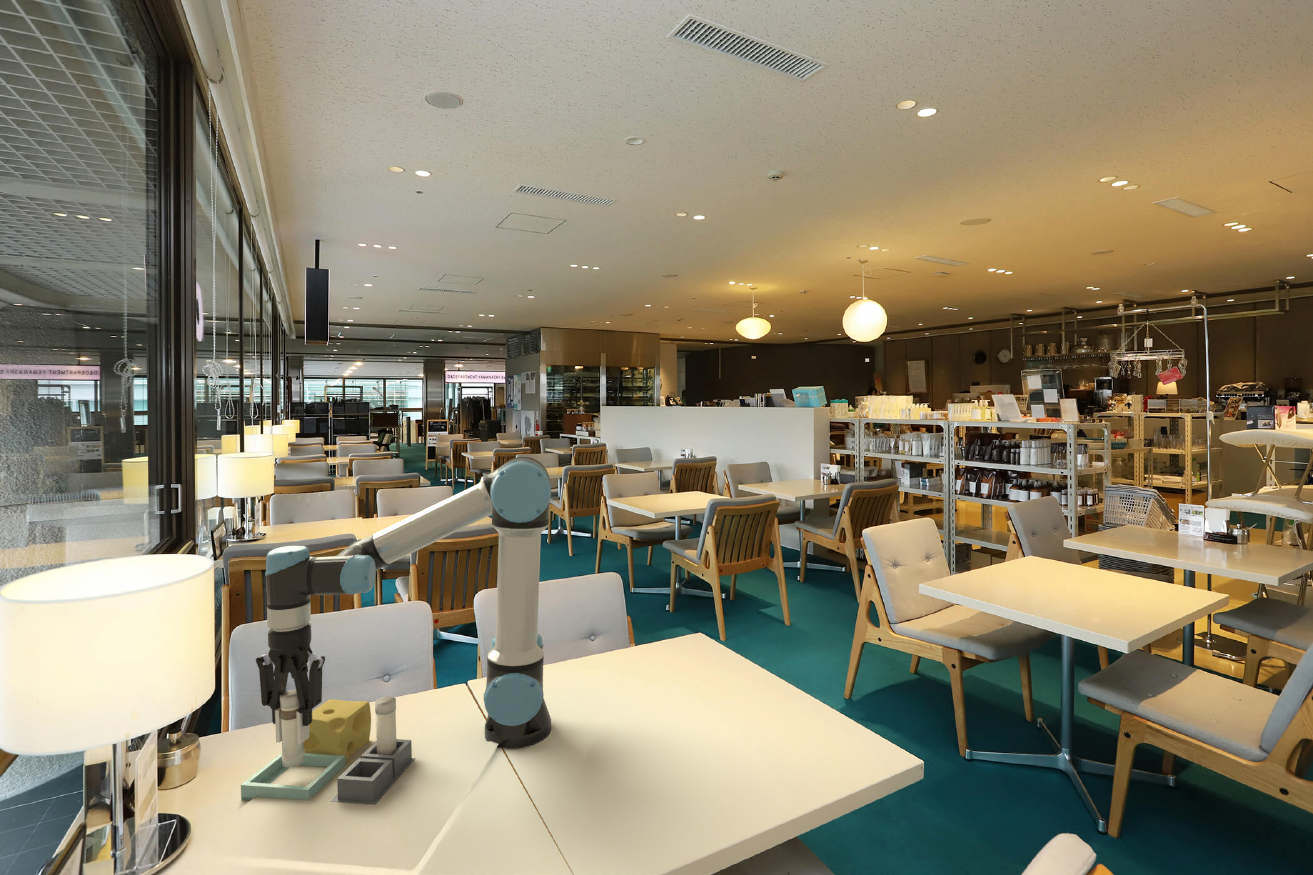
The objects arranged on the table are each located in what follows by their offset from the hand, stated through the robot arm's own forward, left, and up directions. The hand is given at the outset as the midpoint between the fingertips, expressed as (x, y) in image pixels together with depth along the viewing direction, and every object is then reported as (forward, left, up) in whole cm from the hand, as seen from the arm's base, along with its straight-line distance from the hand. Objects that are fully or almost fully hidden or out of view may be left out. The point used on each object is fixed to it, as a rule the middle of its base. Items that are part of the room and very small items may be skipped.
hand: (292, 739), depth 131 cm
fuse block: (-16, -2, -9) cm, 19 cm away
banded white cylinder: (0, 0, -5) cm, 5 cm away
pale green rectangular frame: (0, 0, -9) cm, 9 cm away
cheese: (-1, -12, -10) cm, 15 cm away
